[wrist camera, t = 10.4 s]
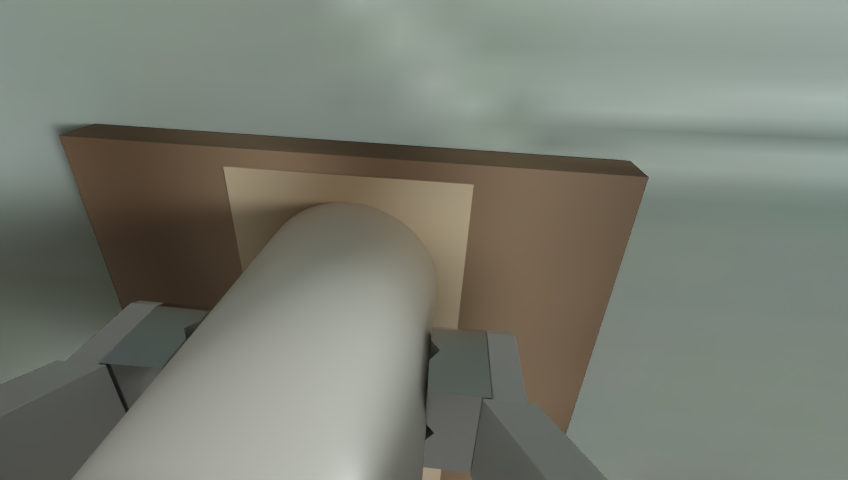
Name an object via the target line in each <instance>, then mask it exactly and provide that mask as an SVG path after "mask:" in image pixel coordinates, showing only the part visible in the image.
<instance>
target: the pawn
mask: <svg viewBox="0 0 848 480" xmlns="http://www.w3.org/2000/svg"><path fill="white" fill-rule="evenodd" d="M436 285H437V284H436V273H435V268H434V264H433V262H432V259H431V256H430V254H429V252H428V251H427V249H426V247H425V245H424V244H423V243H422V241H421V240H420V239H419V237H418V236H417V235H416V234H415V233H414V232H413V231H412V230H411V229H410V228H409V227H408V226H406V225H405V224H404V223H403V222H401V221H400V220H398V219H397V218H395V217H394V216H392V215H390V214H388V213H386V212H384V211H382V210H380V209H377V208H374V207H371V206H367V205H363V204H358V203H349V202H332V203H325V204H320V205H316V206H313V207H310V208H307V209H305V210H303V211H301V212H299V213H297V214H296V215H294V216H293V217H291V218H290V219H289V220H288V221H287V222H286V223H284V224H283V225H282V227H281V228H280V229H279V230H278V231H277V233H276V234H275V235H274V236H273V237H272V239H271V240H270V241H269V242H268V243H267V245H266V246H265V247H264V248H263V249H262V251H261V252H260V253H259V254H258V255H257V257H256V258H255V259H254V260H253V261H252V263H251V264H250V265H249V266H248V267H247V269H246V270H245V271H244V272H243V273H242V275H241V276H240V277H239V278H238V279H237V281H236V282H235V283H234V284H233V285H232V287H231V288H230V289H229V290H228V291H227V293H226V294H225V295H224V296H223V297H222V299H221V300H220V301H219V302H218V303H217V305H216V306H215V307H214V308H213V309H212V311H211V312H210V313H209V314H208V315H207V317H206V318H205V319H204V320H203V321H202V323H201V324H200V325H199V326H198V327H197V329H196V330H195V331H194V332H193V333H192V335H191V336H190V337H189V338H188V339H187V341H186V342H185V343H184V344H183V345H182V347H181V348H180V349H179V350H178V351H177V353H176V354H175V355H174V356H173V357H172V359H171V360H170V361H169V362H168V363H167V365H166V366H165V367H164V368H163V369H162V371H161V372H160V373H159V374H158V375H157V377H156V378H155V379H154V380H153V381H152V383H151V384H150V385H149V386H148V387H147V389H146V390H145V391H144V392H143V393H142V395H141V396H140V397H139V398H138V399H137V401H136V402H135V403H134V404H133V406H132V407H131V408H130V409H129V410H128V412H127V413H126V414H125V415H124V416H123V418H122V419H121V420H120V421H119V422H118V424H117V425H116V426H115V427H114V428H113V430H112V431H111V432H110V433H109V434H108V436H107V437H106V438H105V439H104V440H103V442H102V443H101V444H100V445H99V446H98V448H97V449H96V450H95V451H94V452H93V454H92V455H91V456H90V457H89V458H88V460H87V461H86V462H85V463H84V464H83V466H82V467H81V468H80V469H79V470H78V472H77V473H76V474H75V475H74V476H73V478H72V479H71V480H422V476H423V463H424V449H425V435H426V414H425V413H426V399H427V385H428V372H429V358H430V347H431V335H432V326H434V313H435V299H436Z"/></svg>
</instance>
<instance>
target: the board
mask: <svg viewBox="0 0 848 480" xmlns="http://www.w3.org/2000/svg"><path fill="white" fill-rule="evenodd" d="M59 137H60V140H61V142H62V145H63V148H64V150H65V153H66V156H67V159H68V161H69V164H70V167H71V170H72V172H73V175H74V178H75V181H76V183H77V186H78V189H79V192H80V194H81V197H82V200H83V202H84V205H85V208H86V211H87V213H88V216H89V219H90V222H91V224H92V227H93V230H94V233H95V235H96V238H97V241H98V243H99V246H100V249H101V252H102V254H103V257H104V260H105V263H106V265H107V268H108V271H109V274H110V276H111V279H112V282H113V284H114V287H115V290H116V293H117V295H118V298H119V301H120V304H121V306H122V309H124V308H126V307H127V306H128V305H129V304H130V303H133V302H136V301H140V300H141V301H151V302H160V303H174V304H183V305H192V306H201V307H211V308H214V307H215V306H216V305H217V303H218V302H219V301H220V300H221V299H222V297H223V296H224V295H225V294H226V293H227V291H228V290H229V289H230V288H231V287H232V285H233V284H234V283H235V282H236V281H237V279H238V278H239V277H240V276H241V275H242V273H243V272H244V271H245V270H246V269H247V267H248V266H249V265H250V264H251V263H252V261H253V260H254V259H255V258H256V257H257V255H258V254H259V253H260V252H261V251H262V249H263V248H264V247H265V246H266V245H267V243H268V242H269V241H270V240H271V239H272V237H273V236H274V235H275V234H276V233H277V231H278V230H279V229H280V228H281V227H282V225H283V224H284V223H286V222H287V221H288V220H289V219H290V218H291V217H293V216H294V215H296V214H297V213H299V212H301V211H303V210H305V209H307V208H310V207H313V206H316V205H320V204H325V203H332V202H349V203H358V204H363V205H367V206H371V207H374V208H377V209H380V210H382V211H384V212H386V213H388V214H390V215H392V216H394V217H395V218H397V219H398V220H400V221H401V222H403V223H404V224H405V225H406V226H408V227H409V228H410V229H411V230H412V231H413V232H414V233H415V234H416V235H417V236H418V237H419V239H420V240H421V241H422V243H423V244H424V245H425V247H426V249H427V251H428V252H429V254H430V256H431V259H432V262H433V264H434V268H435V273H436V284H437V285H436V299H435V313H434V327H447V328H460V329H473V330H484V331H486V330H495V331H511V332H513V333H514V334H515V337H516V342H517V348H518V353H519V358H520V364H521V369H522V375H523V380H524V386H525V391H526V397H527V402H528V403H535V404H537V405H538V406H539V407H540V408H541V409H542V410H543V411H544V412H545V413H546V414H547V415H548V416H549V418H550V419H551V420H552V421H553V422H554V423H555V424H556V425H557V426H558V427H559V428H560V429H561V430H562V431H563V432H564V434H565V435H566V432H567V429H568V426H569V423H570V419H571V416H572V413H573V410H574V407H575V404H576V401H577V398H578V395H579V392H580V388H581V385H582V382H583V379H584V376H585V373H586V370H587V367H588V364H589V361H590V357H591V354H592V351H593V348H594V345H595V342H596V339H597V336H598V333H599V330H600V327H601V323H602V320H603V317H604V314H605V311H606V308H607V305H608V302H609V299H610V296H611V292H612V289H613V286H614V283H615V280H616V277H617V274H618V271H619V268H620V265H621V261H622V258H623V255H624V252H625V249H626V246H627V243H628V240H629V237H630V234H631V230H632V227H633V224H634V221H635V218H636V215H637V212H638V209H639V206H640V203H641V199H642V196H643V193H644V190H645V187H646V184H647V181H648V178H649V177H648V176H647V175H645V174H644V173H643V172H642V171H641V170H640V169H639V168H638V167H636V166H635V165H634V164H633V163H632V162H631V161H621V160H606V159H592V158H577V157H563V156H549V155H534V154H520V153H505V152H491V151H476V150H462V149H448V148H433V147H419V146H404V145H390V144H375V143H361V142H347V141H332V140H318V139H303V138H289V137H275V136H260V135H246V134H231V133H217V132H202V131H188V130H174V129H159V128H145V127H130V126H116V125H101V124H94V125H91V126H88V127H84V128H81V129H78V130H75V131H72V132H69V133H66V134H63V135H60V136H59ZM470 475H471V473H466V472H458V471H450V470H442V469H433V468H425V467H423V476H422V480H472V478H471V476H470Z"/></svg>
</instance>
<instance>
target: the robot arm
mask: <svg viewBox="0 0 848 480" xmlns="http://www.w3.org/2000/svg"><path fill="white" fill-rule="evenodd" d="M212 309H213V308H211V307H201V306H192V305H183V304H174V303H160V302H151V301H141V300H140V301H136V302H133V303H130V304H129V305H128V306H127V307H126V308H124V309H123V310H122V311H121V312H120V313H119V314H118V315H117V316H116V317H114V318H113V319H112V320H111V321H110V322H109V323H108V324H107V325H106V326H104V327H103V328H102V329H101V330H100V331H99V332H98V333H97V334H96V335H94V336H93V337H92V338H91V339H90V340H89V341H88V342H87V343H85V344H84V345H83V346H82V347H81V348H80V349H79V350H78V351H77V352H75V353H74V354H73V355H72V356H71V357H70V358H69V359H68V360H67V361H55V362H52V363H50V364H48V365H45V366H43V367H41V368H38V369H36V370H34V371H31V372H29V373H27V374H25V375H22V376H20V377H18V378H15V379H13V380H11V381H8V382H6V383H4V384H1V385H0V480H71V479H72V478H73V476H74V475H75V474H76V473H77V472H78V470H79V469H80V468H81V467H82V466H83V464H84V463H85V462H86V461H87V460H88V458H89V457H90V456H91V455H92V454H93V452H94V451H95V450H96V449H97V448H98V446H99V445H100V444H101V443H102V442H103V440H104V439H105V438H106V437H107V436H108V434H109V433H110V432H111V431H112V430H113V428H114V427H115V426H116V425H117V424H118V422H119V421H120V420H121V419H122V418H123V416H124V415H125V414H126V413H127V412H128V410H129V409H130V408H131V407H132V406H133V404H134V403H135V402H136V401H137V399H138V398H139V397H140V396H141V395H142V393H143V392H144V391H145V390H146V389H147V387H148V386H149V385H150V384H151V383H152V381H153V380H154V379H155V378H156V377H157V375H158V374H159V373H160V372H161V371H162V369H163V368H164V367H165V366H166V365H167V363H168V362H169V361H170V360H171V359H172V357H173V356H174V355H175V354H176V353H177V351H178V350H179V349H180V348H181V347H182V345H183V344H184V343H185V342H186V341H187V339H188V338H189V337H190V336H191V335H192V333H193V332H194V331H195V330H196V329H197V327H198V326H199V325H200V324H201V323H202V321H203V320H204V319H205V318H206V317H207V315H208V314H209V313H210V312H211V311H212ZM425 414H426V435H425V449H424V463H423V467H425V468H433V469H442V470H450V471H458V472H466V473H471V475H470V476H471V478H472V480H608V479H607V478H606V477H605V476H604V475H603V474H602V473H601V472H600V471H599V470H598V469H597V468H596V467H595V466H594V465H593V463H592V462H591V461H590V460H589V459H588V458H587V457H586V456H585V455H584V454H583V453H582V452H581V451H580V450H579V448H578V447H577V446H576V445H575V444H574V443H573V442H572V441H571V440H570V439H569V438H568V437H567V436H566V435H565V434H564V432H563V431H562V430H561V429H560V428H559V427H558V426H557V425H556V424H555V423H554V422H553V421H552V420H551V419H550V418H549V416H548V415H547V414H546V413H545V412H544V411H543V410H542V409H541V408H540V407H539V406H538V405H537V404H535V403H528V402H527V397H526V391H525V386H524V380H523V375H522V369H521V364H520V358H519V353H518V348H517V342H516V337H515V334H514V333H513V332H511V331H495V330H486V331H484V330H473V329H460V328H447V327H434V326H432V335H431V347H430V358H429V372H428V385H427V399H426V413H425Z"/></svg>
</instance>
